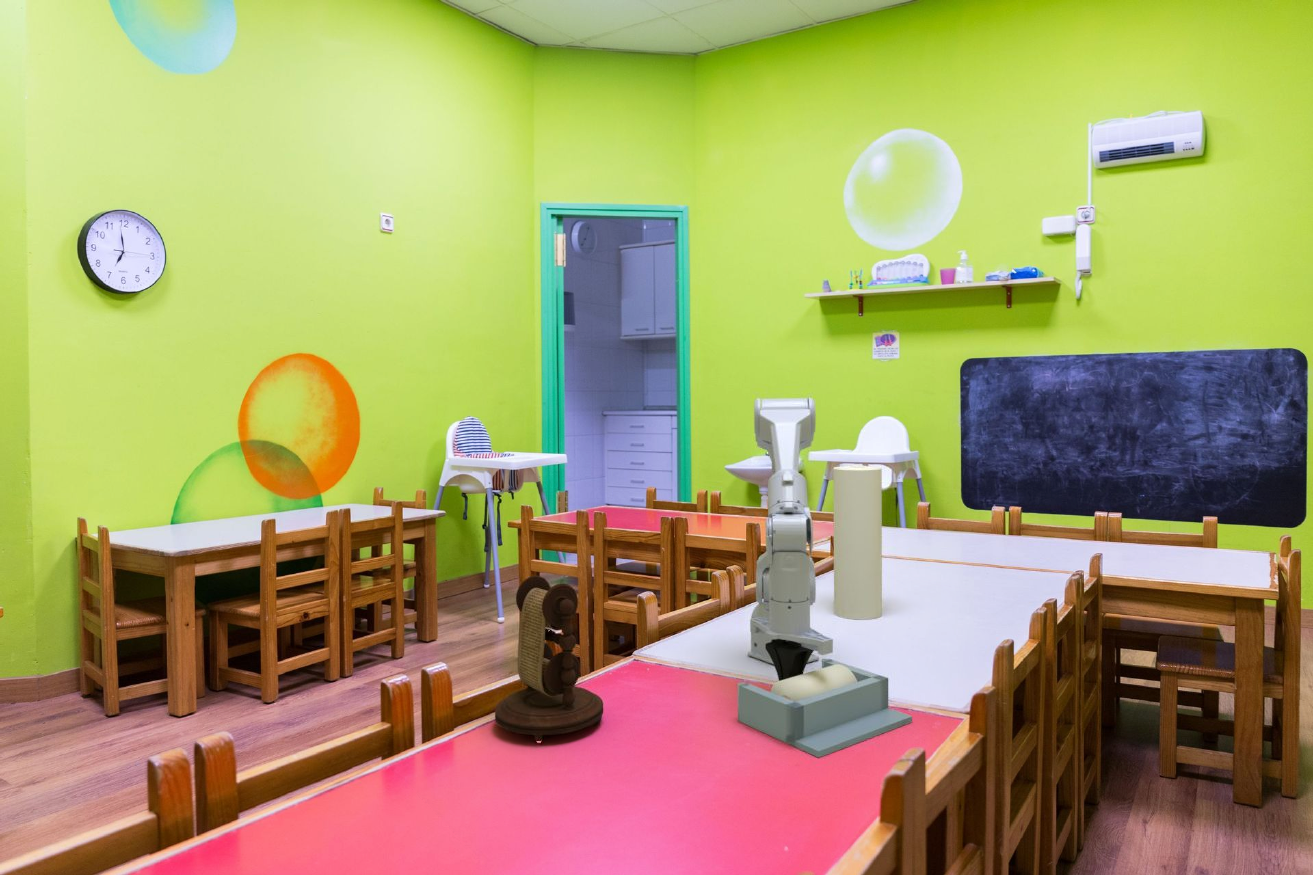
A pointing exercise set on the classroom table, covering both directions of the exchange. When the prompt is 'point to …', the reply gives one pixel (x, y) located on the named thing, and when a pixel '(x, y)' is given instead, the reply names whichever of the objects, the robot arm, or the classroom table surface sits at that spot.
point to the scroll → (547, 666)
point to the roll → (814, 682)
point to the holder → (823, 713)
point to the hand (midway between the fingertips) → (790, 692)
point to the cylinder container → (857, 542)
